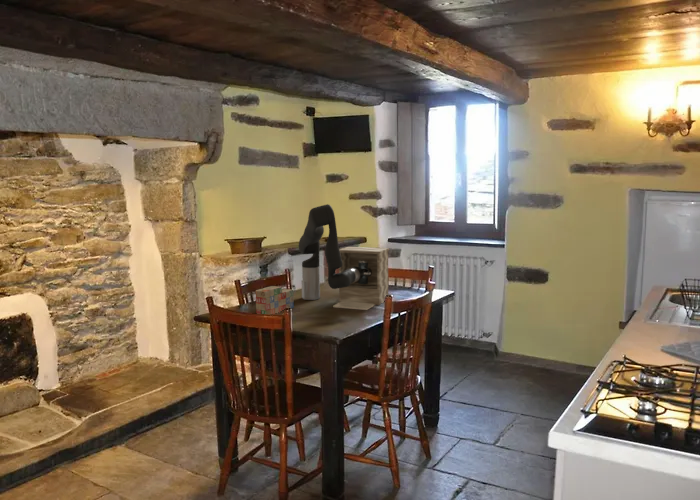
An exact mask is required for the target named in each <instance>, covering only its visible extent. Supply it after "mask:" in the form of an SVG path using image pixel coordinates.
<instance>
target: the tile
mask: <svg viewBox="0 0 700 500" xmlns="http://www.w3.org/2000/svg"><path fill="white" fill-rule="evenodd" d="M332 306H333V308H337V309H339V308H340V309H351V310H363V311H368V310H369V309H371V308H372V307H374V306H375V304H372V303H359V302H346V301H341V302H340V301H339V302H337V303H336V304H334V305H332Z"/></svg>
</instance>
